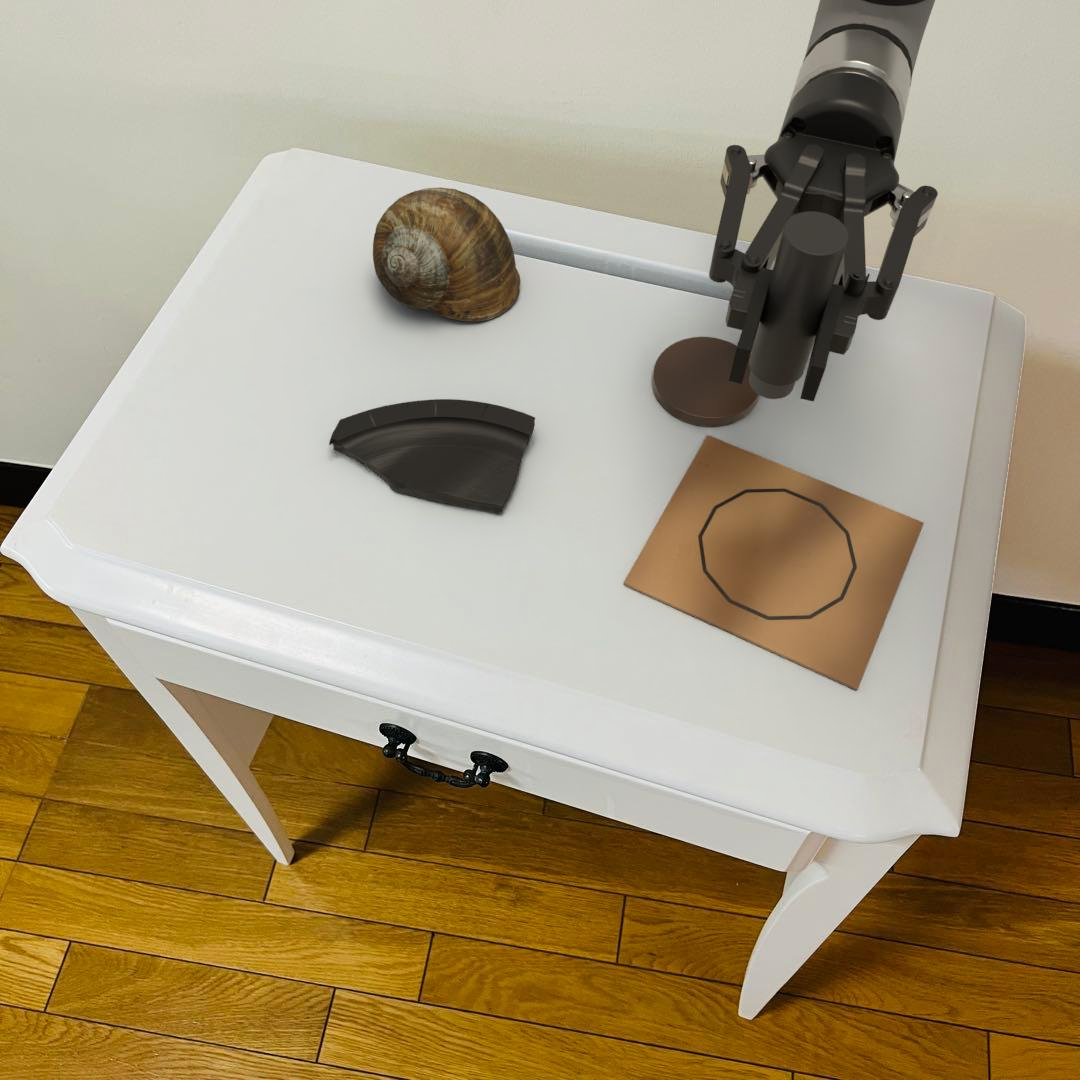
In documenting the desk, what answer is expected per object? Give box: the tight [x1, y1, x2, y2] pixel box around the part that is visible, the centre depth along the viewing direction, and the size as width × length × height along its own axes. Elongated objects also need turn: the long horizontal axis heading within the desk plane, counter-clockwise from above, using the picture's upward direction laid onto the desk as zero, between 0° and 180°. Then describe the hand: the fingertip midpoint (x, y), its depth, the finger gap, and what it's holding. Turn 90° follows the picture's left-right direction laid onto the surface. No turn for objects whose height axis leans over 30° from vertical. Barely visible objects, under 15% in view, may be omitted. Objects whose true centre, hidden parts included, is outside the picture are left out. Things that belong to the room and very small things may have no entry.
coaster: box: [651, 336, 760, 428], centre depth 77 cm, size 8×8×1 cm
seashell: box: [372, 187, 521, 322], centre depth 80 cm, size 11×9×8 cm
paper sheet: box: [623, 434, 924, 691], centre depth 70 cm, size 16×14×1 cm
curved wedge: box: [328, 398, 536, 514], centre depth 74 cm, size 8×14×2 cm, turn 74°
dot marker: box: [749, 211, 848, 400], centre depth 60 cm, size 3×3×12 cm
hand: (775, 374), depth 57 cm, fingers closed on dot marker, 3 cm apart
